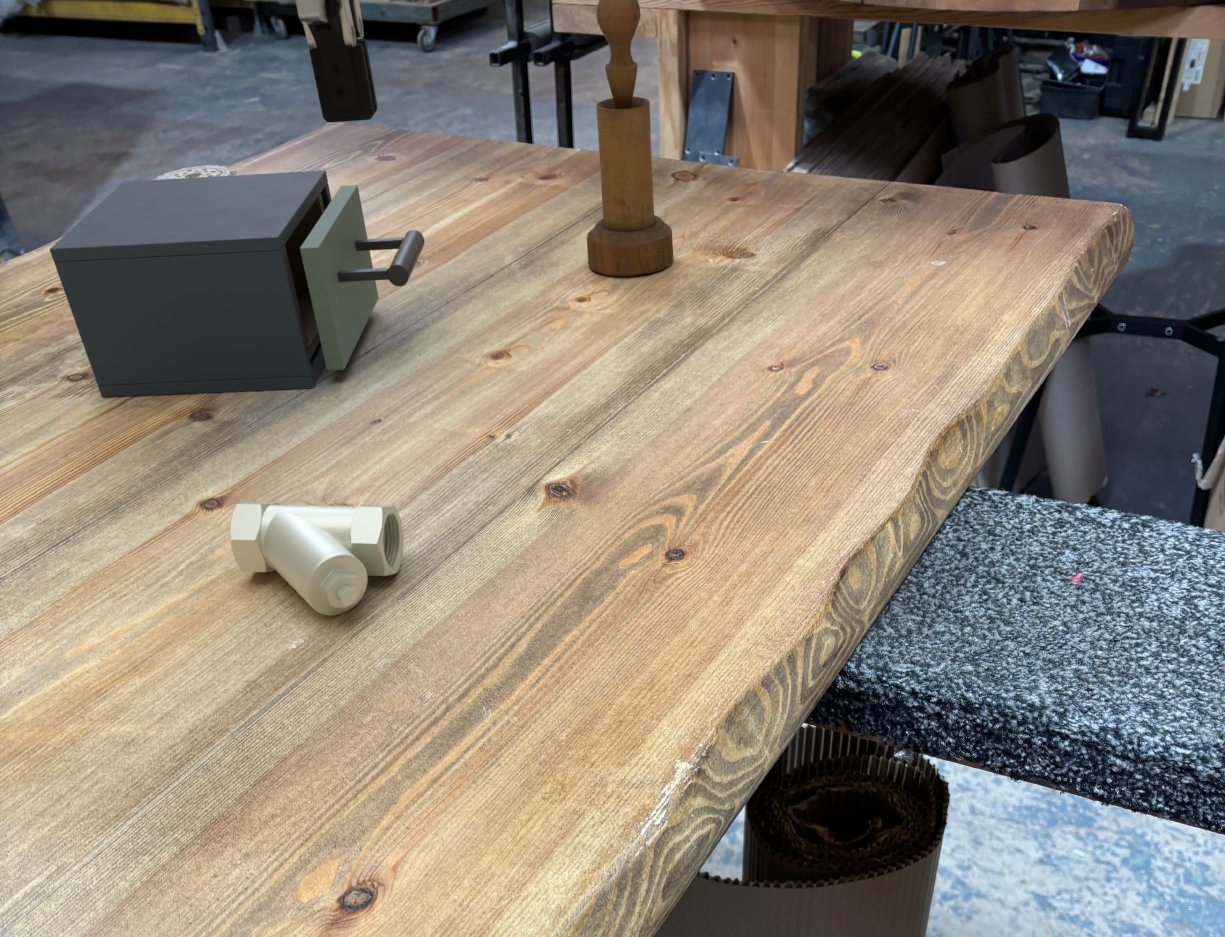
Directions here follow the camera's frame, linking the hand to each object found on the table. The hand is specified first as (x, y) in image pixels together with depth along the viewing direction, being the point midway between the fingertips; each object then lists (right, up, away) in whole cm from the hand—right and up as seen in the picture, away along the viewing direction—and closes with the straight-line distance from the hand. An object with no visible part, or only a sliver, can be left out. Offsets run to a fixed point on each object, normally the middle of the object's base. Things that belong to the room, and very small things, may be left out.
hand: (351, 117), depth 77 cm
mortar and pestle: (+18, -1, +19) cm, 26 cm away
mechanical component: (-19, +8, +32) cm, 38 cm away
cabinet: (-11, -11, +10) cm, 18 cm away
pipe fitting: (+1, -32, -14) cm, 35 cm away
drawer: (-6, -10, +10) cm, 15 cm away
